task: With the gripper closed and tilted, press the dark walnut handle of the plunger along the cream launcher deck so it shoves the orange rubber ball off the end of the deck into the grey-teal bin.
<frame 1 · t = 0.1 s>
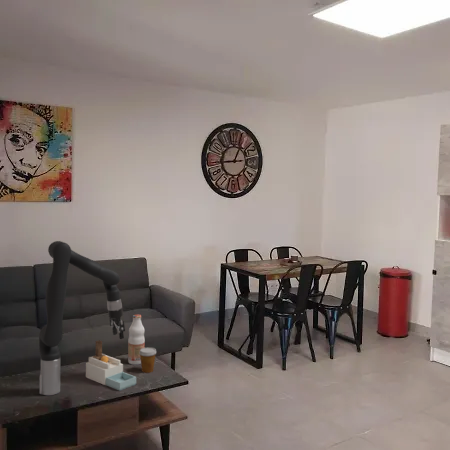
hand: (118, 336, 266), 22 cm above the table, tool pointing down, fingers open, 8 cm apart
launcher deck: (104, 377, 266), on the table
disposable coffee cup: (147, 371, 278), on the table
fruit juice: (136, 362, 291), on the table
bin: (121, 384, 257), on the table
ball: (104, 359, 265), point 10 cm above the table, touching launcher deck
plunger: (99, 351, 267), point 14 cm above the table, slide at 0.0 cm
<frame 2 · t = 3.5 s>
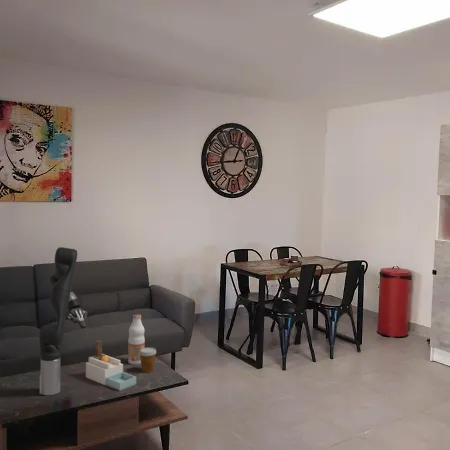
hand: (84, 327, 275), 24 cm above the table, tool tilted 45°, fingers closed
nothing on the table moved.
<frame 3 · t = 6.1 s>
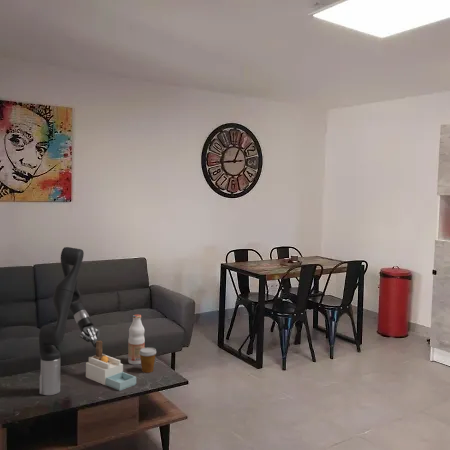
hand: (97, 346, 268), 16 cm above the table, tool tilted 45°, fingers closed
plunger: (99, 351, 267), point 14 cm above the table, slide at 0.4 cm, touching gripper
everything else where it was.
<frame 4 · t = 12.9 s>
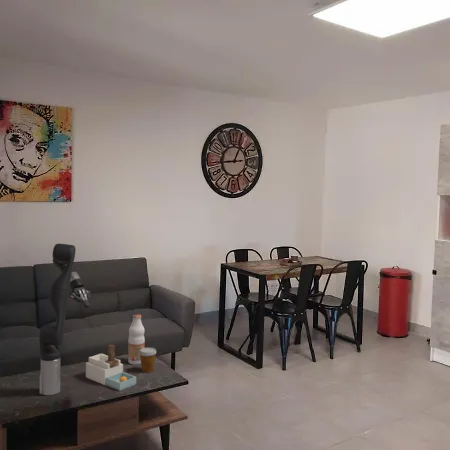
hand: (87, 306, 273), 36 cm above the table, tool tilted 45°, fingers closed
ball: (123, 380, 256), point 3 cm above the table, tilted 114°, touching bin
plunger: (111, 355, 261), point 14 cm above the table, slide at 10.5 cm
everything else where it was.
at the end: ball 1.5 cm from the bin (horizontally); ball point 2.8 cm above the table; plunger slide at 10.5 cm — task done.
